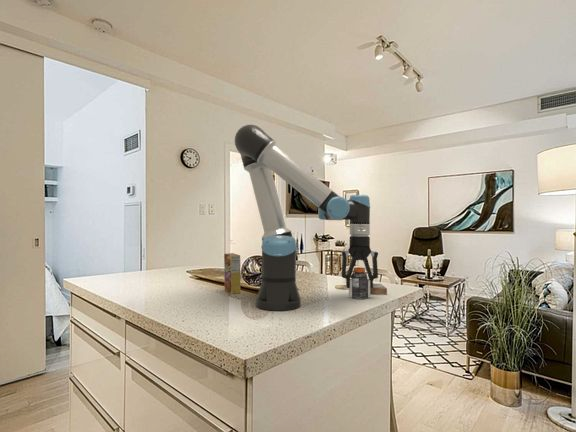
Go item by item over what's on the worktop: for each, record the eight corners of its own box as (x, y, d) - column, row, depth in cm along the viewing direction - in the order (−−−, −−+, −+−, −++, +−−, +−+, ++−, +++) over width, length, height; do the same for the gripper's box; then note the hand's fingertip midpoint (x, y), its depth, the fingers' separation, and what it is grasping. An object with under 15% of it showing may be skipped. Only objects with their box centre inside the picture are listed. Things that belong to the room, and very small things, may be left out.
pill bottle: (366, 296, 128) (366, 266, 128) (368, 299, 122) (368, 269, 122) (350, 295, 128) (350, 266, 128) (352, 299, 122) (352, 268, 122)
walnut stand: (361, 294, 131) (361, 287, 131) (356, 289, 141) (356, 283, 141) (386, 294, 131) (386, 287, 131) (380, 289, 141) (380, 283, 141)
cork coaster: (336, 289, 140) (336, 288, 140) (333, 285, 148) (333, 284, 148) (354, 289, 140) (354, 288, 140) (351, 286, 148) (351, 284, 148)
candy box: (223, 290, 137) (223, 253, 137) (233, 289, 139) (233, 252, 139) (230, 294, 129) (230, 255, 129) (240, 293, 131) (241, 254, 131)
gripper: (335, 235, 122) (335, 298, 121) (387, 236, 121) (387, 299, 121) (333, 235, 129) (333, 294, 129) (382, 235, 129) (382, 294, 128)
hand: (359, 296), depth 125 cm, fingers open, 6 cm apart
